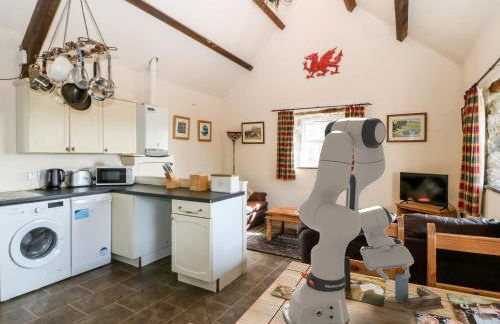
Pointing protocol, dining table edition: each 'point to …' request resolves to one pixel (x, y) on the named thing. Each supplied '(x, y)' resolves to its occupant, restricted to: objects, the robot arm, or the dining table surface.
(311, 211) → the robot arm
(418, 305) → the stop rail
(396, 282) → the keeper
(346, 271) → the door stopper
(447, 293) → the dining table surface
